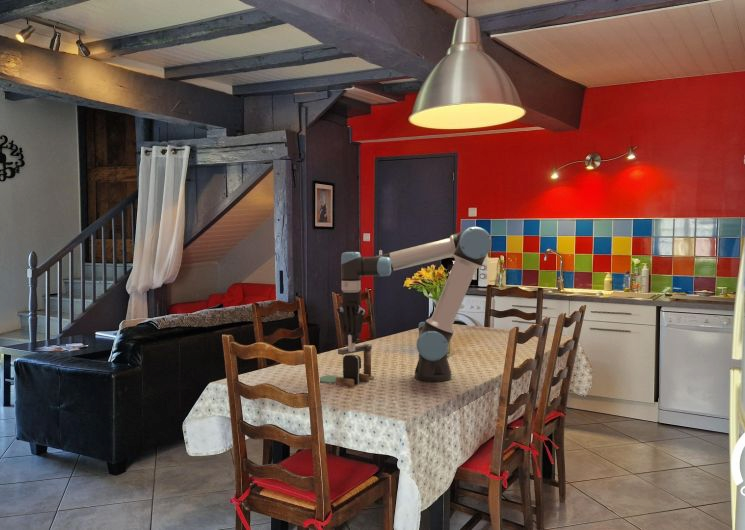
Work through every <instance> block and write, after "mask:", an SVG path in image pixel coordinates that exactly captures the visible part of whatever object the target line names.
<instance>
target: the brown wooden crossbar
mask: <svg viewBox="0 0 745 530" xmlns="http://www.w3.org/2000/svg"><path fill="white" fill-rule="evenodd" d="M372 348H373V347H372V344H370V343H365V344H361V345H357V346H356V345H355V351H352V352H349V351H348V347H345V348H340V349H337V354H338V355H340V356H345V355H351V354H354V353H355V354H356V353H359V352H364V351H365V350H371V351H372V350H373V349H372Z"/></svg>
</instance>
